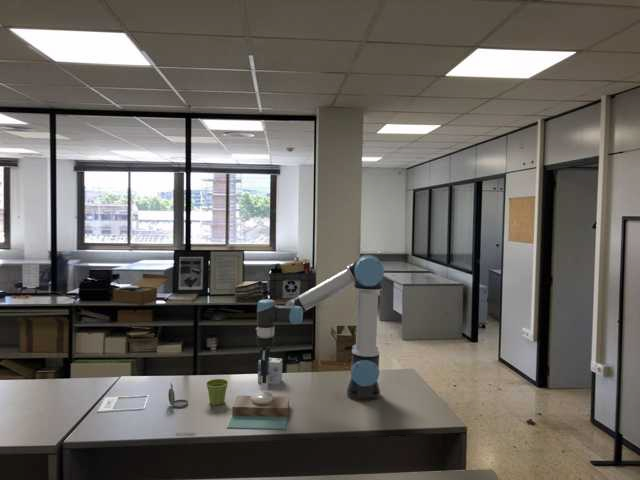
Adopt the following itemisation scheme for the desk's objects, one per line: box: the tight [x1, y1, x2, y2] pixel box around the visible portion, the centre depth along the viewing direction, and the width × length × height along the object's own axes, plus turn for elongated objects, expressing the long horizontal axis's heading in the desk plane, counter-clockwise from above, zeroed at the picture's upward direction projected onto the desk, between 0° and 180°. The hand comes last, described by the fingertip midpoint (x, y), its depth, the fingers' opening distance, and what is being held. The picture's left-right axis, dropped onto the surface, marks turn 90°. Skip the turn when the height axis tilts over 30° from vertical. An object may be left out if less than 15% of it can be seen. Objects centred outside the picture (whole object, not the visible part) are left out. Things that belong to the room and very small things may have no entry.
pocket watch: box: [167, 382, 189, 408], centre depth 203 cm, size 8×8×10 cm
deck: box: [231, 394, 290, 418], centre depth 199 cm, size 22×12×4 cm, turn 90°
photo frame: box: [97, 394, 150, 413], centre depth 204 cm, size 15×1×18 cm
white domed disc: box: [250, 391, 274, 405], centre depth 201 cm, size 9×9×2 cm
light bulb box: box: [257, 357, 283, 385], centre depth 234 cm, size 11×7×11 cm, turn 81°
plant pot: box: [205, 378, 229, 406], centre depth 207 cm, size 9×9×9 cm
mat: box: [226, 415, 288, 431], centre depth 188 cm, size 22×10×1 cm, turn 90°
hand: (264, 389), depth 210 cm, fingers closed
